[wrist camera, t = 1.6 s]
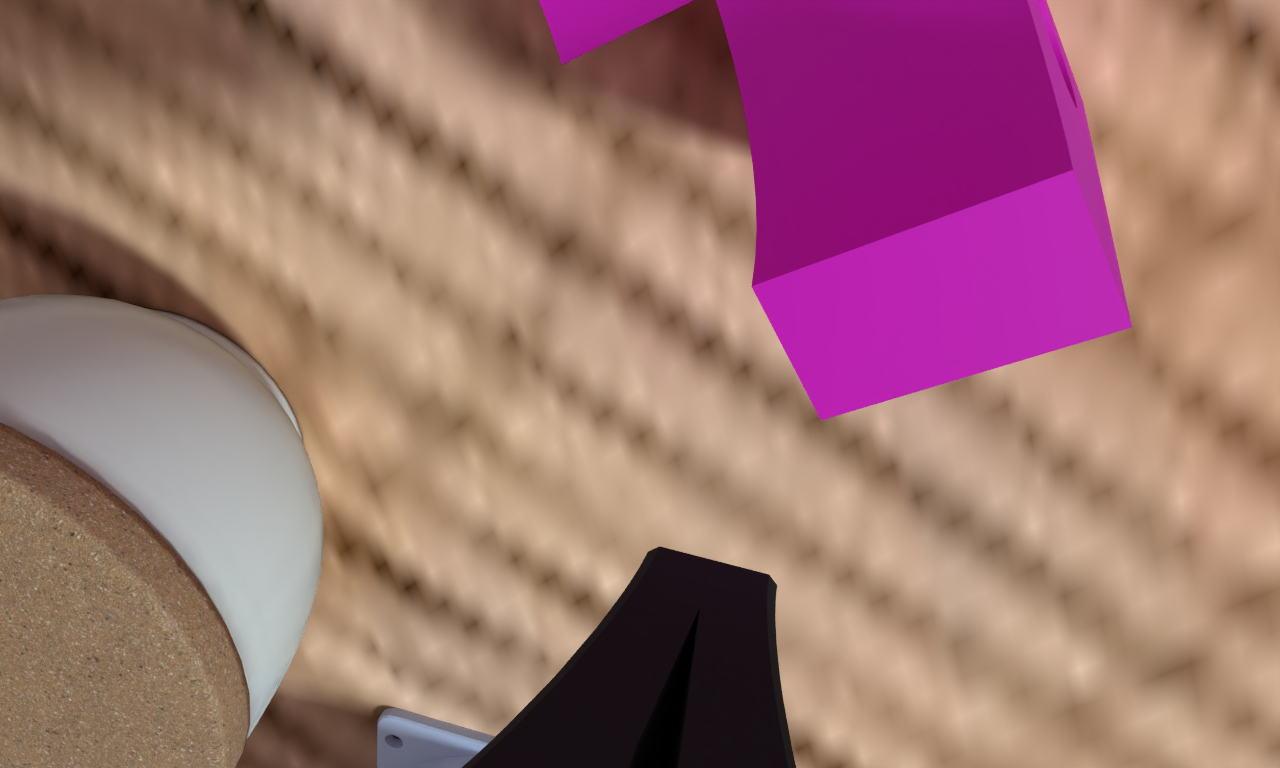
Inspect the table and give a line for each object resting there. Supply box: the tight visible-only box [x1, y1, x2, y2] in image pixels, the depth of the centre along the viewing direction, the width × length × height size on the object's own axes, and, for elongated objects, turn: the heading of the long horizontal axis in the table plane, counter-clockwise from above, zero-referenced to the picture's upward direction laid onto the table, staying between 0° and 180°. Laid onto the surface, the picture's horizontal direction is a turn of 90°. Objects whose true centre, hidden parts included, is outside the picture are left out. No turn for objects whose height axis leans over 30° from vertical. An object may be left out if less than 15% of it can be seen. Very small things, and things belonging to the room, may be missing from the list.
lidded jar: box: [0, 294, 324, 768], centre depth 24 cm, size 11×11×9 cm
